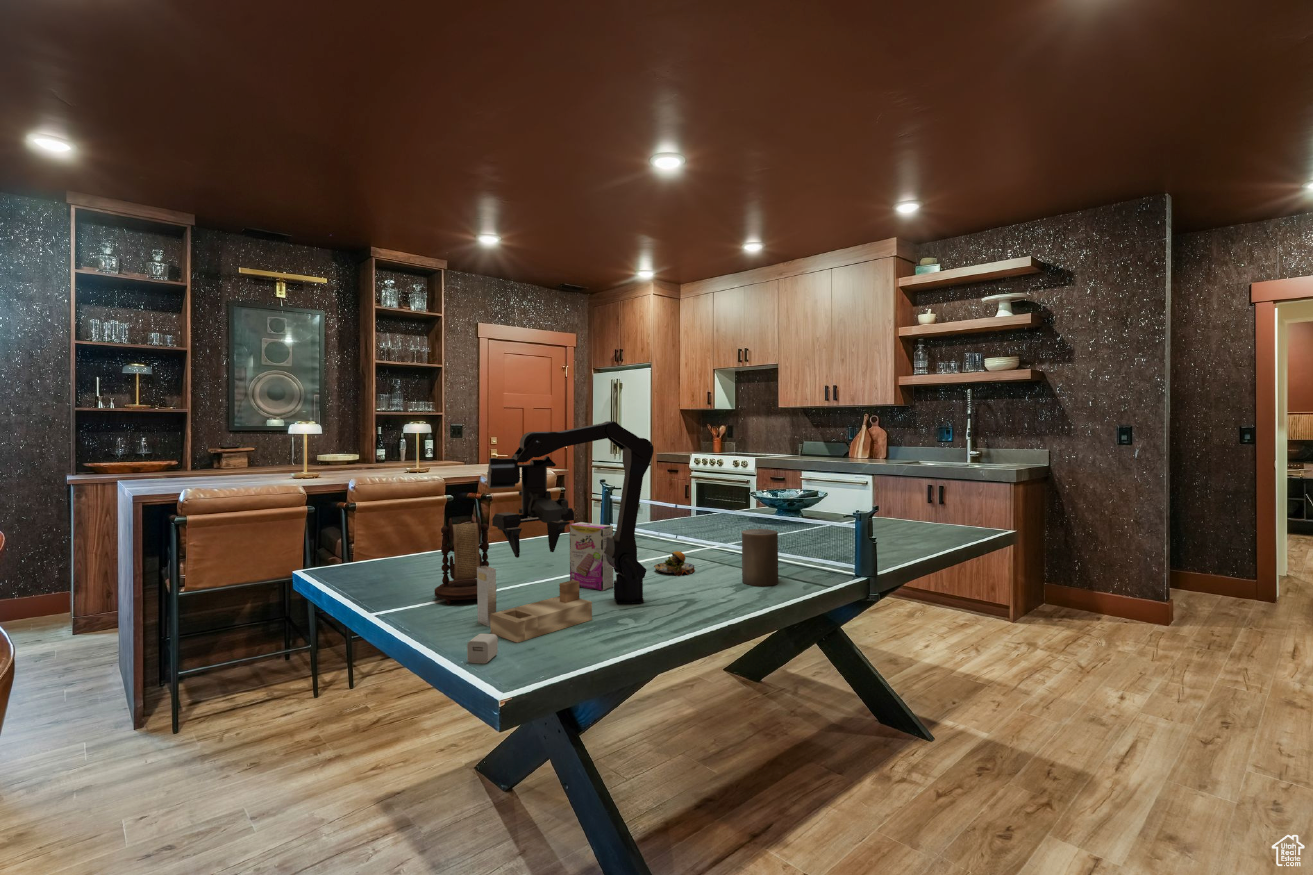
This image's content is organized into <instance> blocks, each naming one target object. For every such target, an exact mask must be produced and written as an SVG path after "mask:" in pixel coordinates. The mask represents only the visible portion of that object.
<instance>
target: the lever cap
mask: <svg viewBox="0 0 1313 875" xmlns="http://www.w3.org/2000/svg"><path fill="white" fill-rule="evenodd" d="M496 570H497V568H495V567H491V566H481V567H477V598H476V599H477V623H479V624H482V625H484V626H486V627H491V624H490V614H492V613H496V612H497V590H496V589H497V577H496V575H497V573H496V572H497V571H496Z"/></svg>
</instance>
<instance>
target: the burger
mask: <svg viewBox="0 0 1313 875" xmlns="http://www.w3.org/2000/svg"><path fill="white" fill-rule="evenodd" d="M667 558H668V559H665V560H664V562H660V563H656V564H654V565H653V567H654V568H655V569H656V570H657V571H659V572H661V573H666V574H674V576H676V577H679V576H681V577H682V576H683V574H684V573H685V574H686V575H691V574H693V573H695V572H696V570H695V565H694V564H692V563H690V562H685V561H686V556H685V554H684V553H683V552H682V551H680V550H679V551H676V550H675V551H672V552H671V556H668V557H667Z"/></svg>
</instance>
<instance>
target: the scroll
mask: <svg viewBox="0 0 1313 875" xmlns="http://www.w3.org/2000/svg"><path fill="white" fill-rule="evenodd" d="M481 522H482V521H481V517H479V516H477V517H476V522H474V523H473V522H472V523H459V524H453V521H452V518H451V517H450V518H449V519H448V526H446V525H443V526H442V527H441V528H440V532H441V534H442V535H441V537H442V540H441V544H442V546H441V548H440V552H441V554H442V560H441V561H442V562H441V563H443V564H442V565H441V567H440V568H441V571H443V572H442V574H441V575H443V576H442V580H441V582H442V583H441V584H440V585H438V586H436V587H435V588H434V597H436V598H438V599H441V600H445V601H446V602H445V603H446V604H447V605H448V606H449V605H451V602H452V601H461V600H463V601H464V600H474V599H477V567H481V566H488V567H490V562H489V561H488V559H489V556H488V553H487V552H489V549H490V544H489V542H488V541H489V538H488V533H489V532H488V530H489V528H490V527H489V525H488V524H487V523H481ZM448 538H449V539H448ZM480 539H481V541H482V542H481V543H480ZM449 541H450V542H451V543H452V544H453V545H452V546H450V545H449ZM480 550H481V552H483V553H482V555H481V553H480ZM450 552H453V554H454V555H450V556H449V557H448V555H449V553H450ZM449 575H450V577H449ZM450 578H451V579H452V580H450ZM496 591H497V588H496Z"/></svg>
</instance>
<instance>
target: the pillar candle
mask: <svg viewBox="0 0 1313 875" xmlns="http://www.w3.org/2000/svg"><path fill="white" fill-rule="evenodd" d="M741 572H742V574H741V575H742V576H741V577H742V579H741V580H742V581H741V582H742V583H743V584H745V585H748V586H755V587H770V586H776V585H778V584H779V534H778V531H777V530H774V529H770V528H769V529H767V528H761V526H759V528H752V529H745V530H742V531H741Z"/></svg>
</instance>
